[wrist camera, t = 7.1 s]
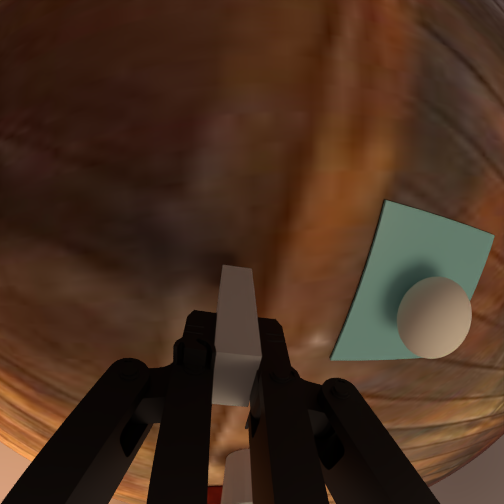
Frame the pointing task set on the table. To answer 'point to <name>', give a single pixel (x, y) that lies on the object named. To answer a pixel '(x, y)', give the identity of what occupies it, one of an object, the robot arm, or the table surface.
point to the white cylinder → (237, 479)
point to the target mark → (406, 276)
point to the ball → (434, 317)
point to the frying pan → (214, 494)
